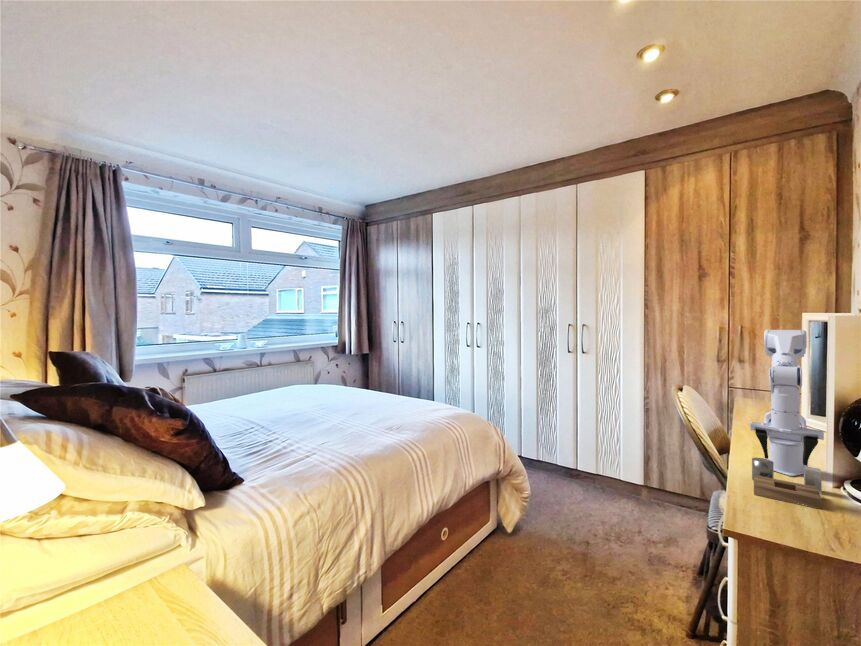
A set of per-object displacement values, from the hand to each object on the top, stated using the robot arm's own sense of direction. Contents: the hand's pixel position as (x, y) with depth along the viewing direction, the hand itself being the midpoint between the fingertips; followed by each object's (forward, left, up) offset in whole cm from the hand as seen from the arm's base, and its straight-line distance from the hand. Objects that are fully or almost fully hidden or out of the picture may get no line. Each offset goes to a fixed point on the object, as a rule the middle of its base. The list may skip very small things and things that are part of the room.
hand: (785, 460), depth 104 cm
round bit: (-5, -8, -10) cm, 14 cm away
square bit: (-10, 0, -10) cm, 14 cm away
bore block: (0, 0, -9) cm, 9 cm away
